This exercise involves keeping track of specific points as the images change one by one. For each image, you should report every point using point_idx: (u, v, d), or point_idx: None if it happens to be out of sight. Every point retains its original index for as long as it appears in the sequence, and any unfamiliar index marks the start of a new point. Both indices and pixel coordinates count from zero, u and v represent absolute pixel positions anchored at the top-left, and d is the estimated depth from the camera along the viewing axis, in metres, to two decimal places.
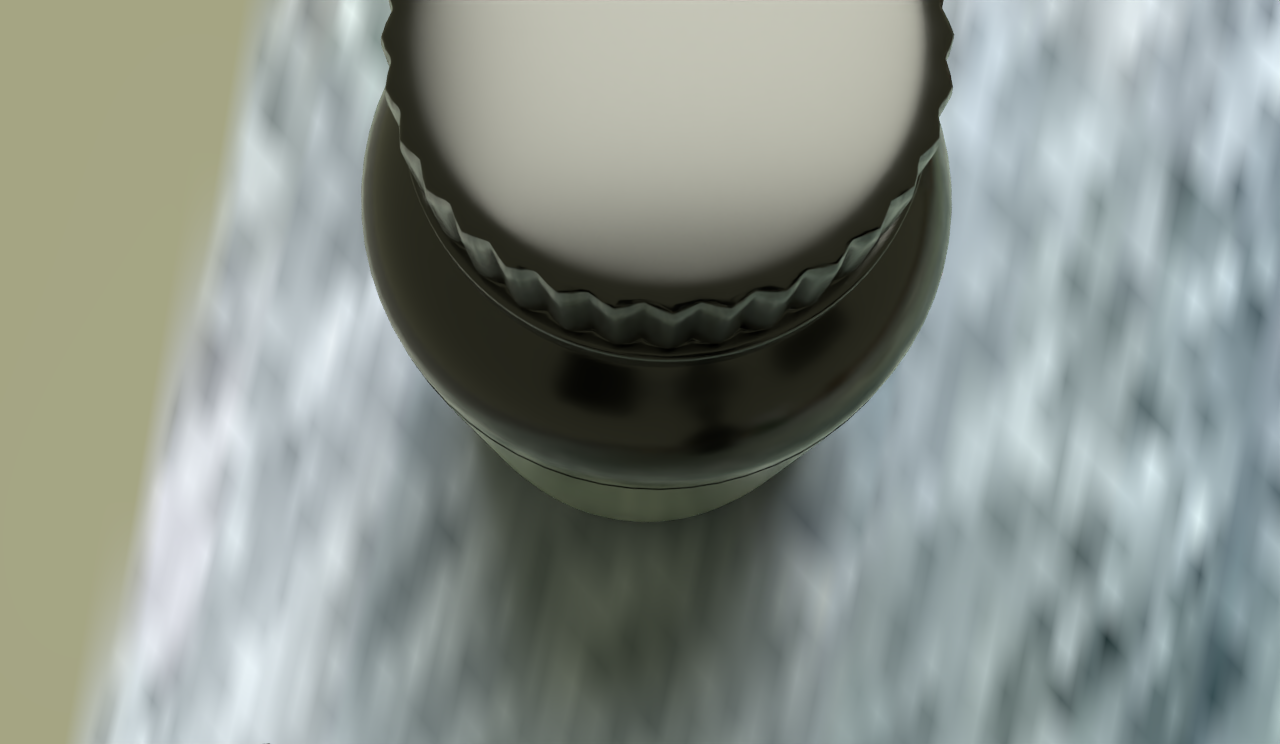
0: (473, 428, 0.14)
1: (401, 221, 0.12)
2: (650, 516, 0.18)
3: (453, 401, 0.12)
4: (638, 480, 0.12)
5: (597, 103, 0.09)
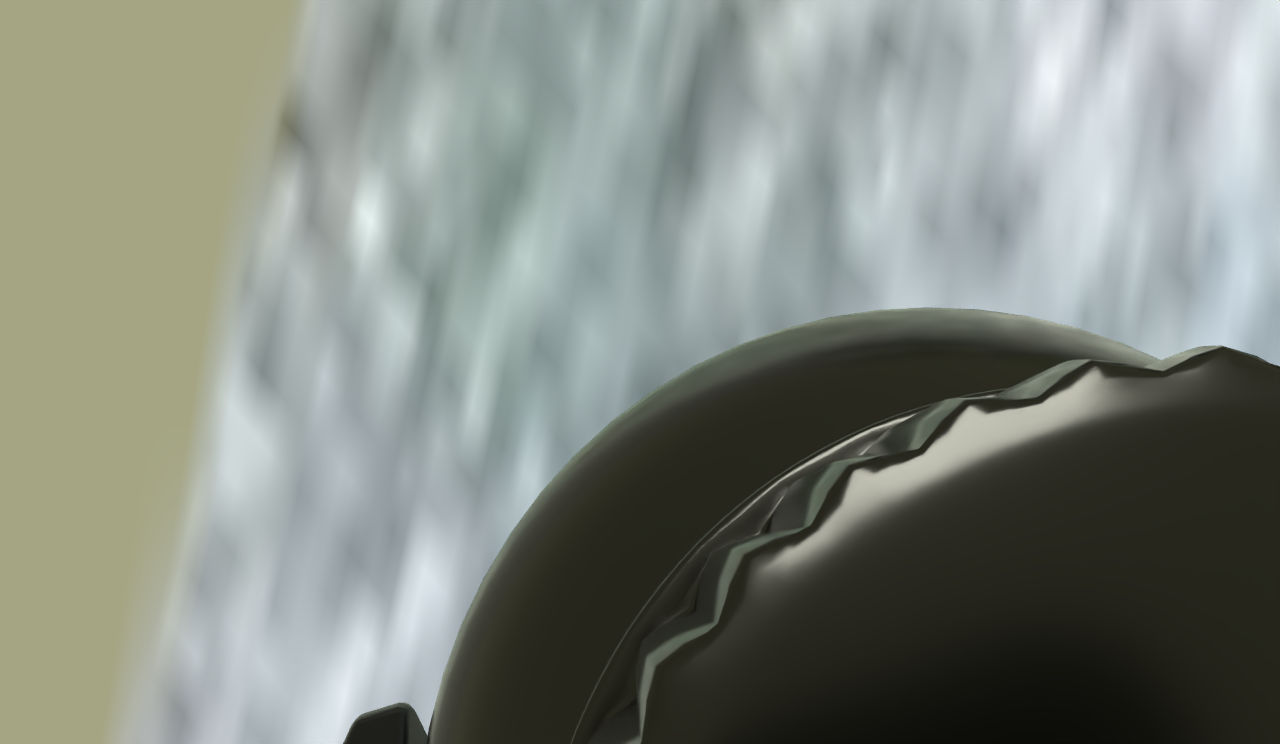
0: None
1: None
2: None
3: None
4: None
5: None
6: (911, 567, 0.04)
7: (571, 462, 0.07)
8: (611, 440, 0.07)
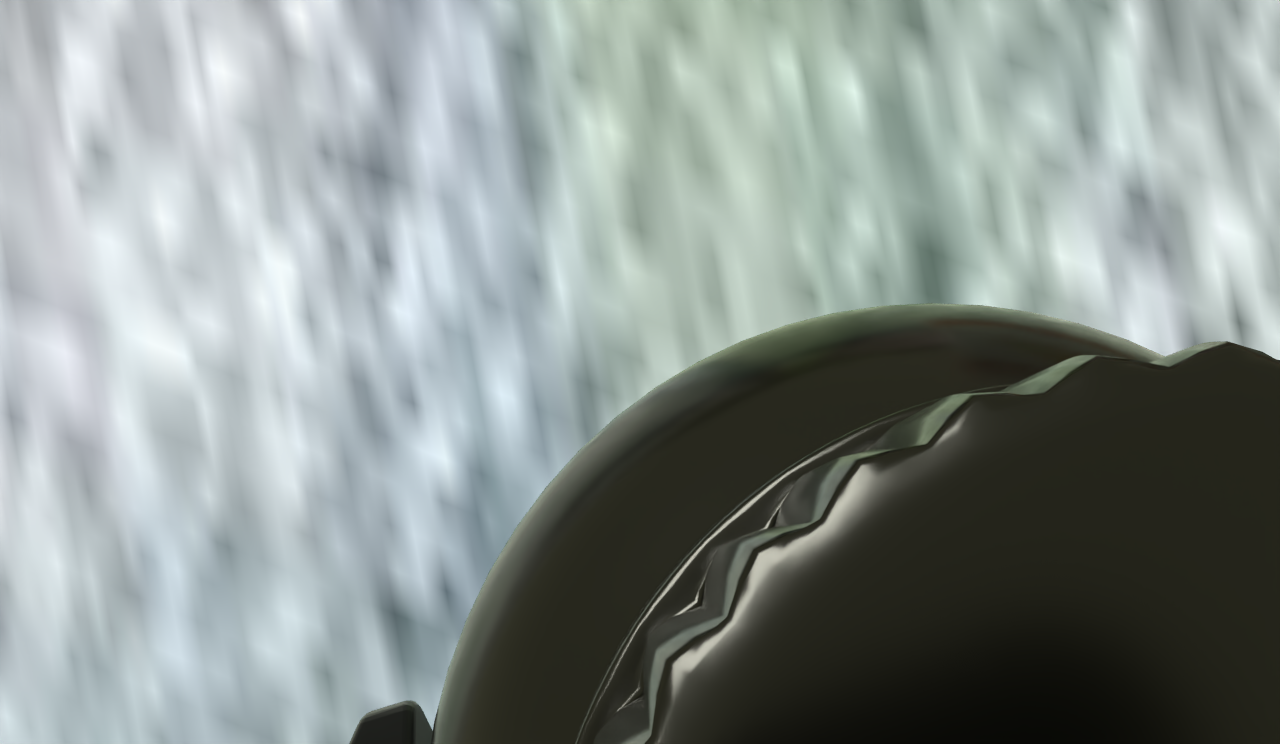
0: None
1: None
2: None
3: None
4: None
5: None
6: (918, 562, 0.04)
7: (577, 457, 0.07)
8: (616, 435, 0.07)
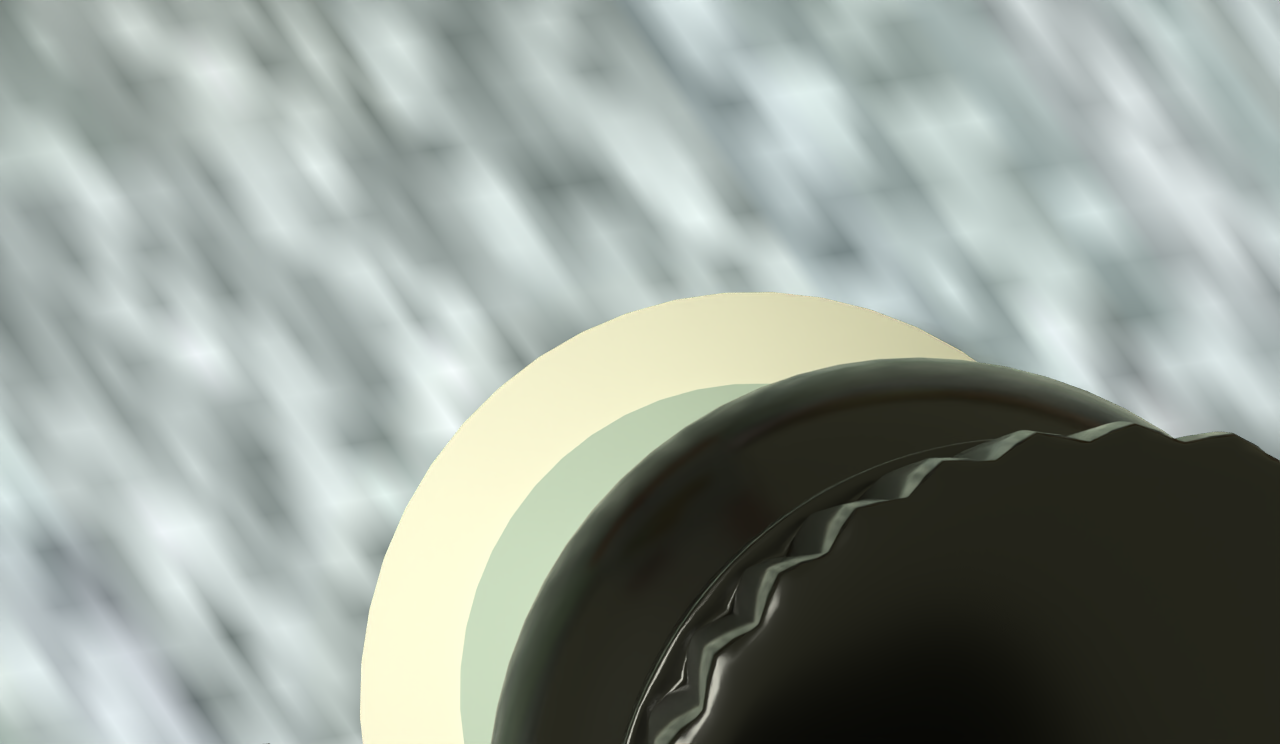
0: None
1: None
2: None
3: None
4: None
5: None
6: (898, 586, 0.05)
7: (619, 485, 0.09)
8: (653, 468, 0.08)
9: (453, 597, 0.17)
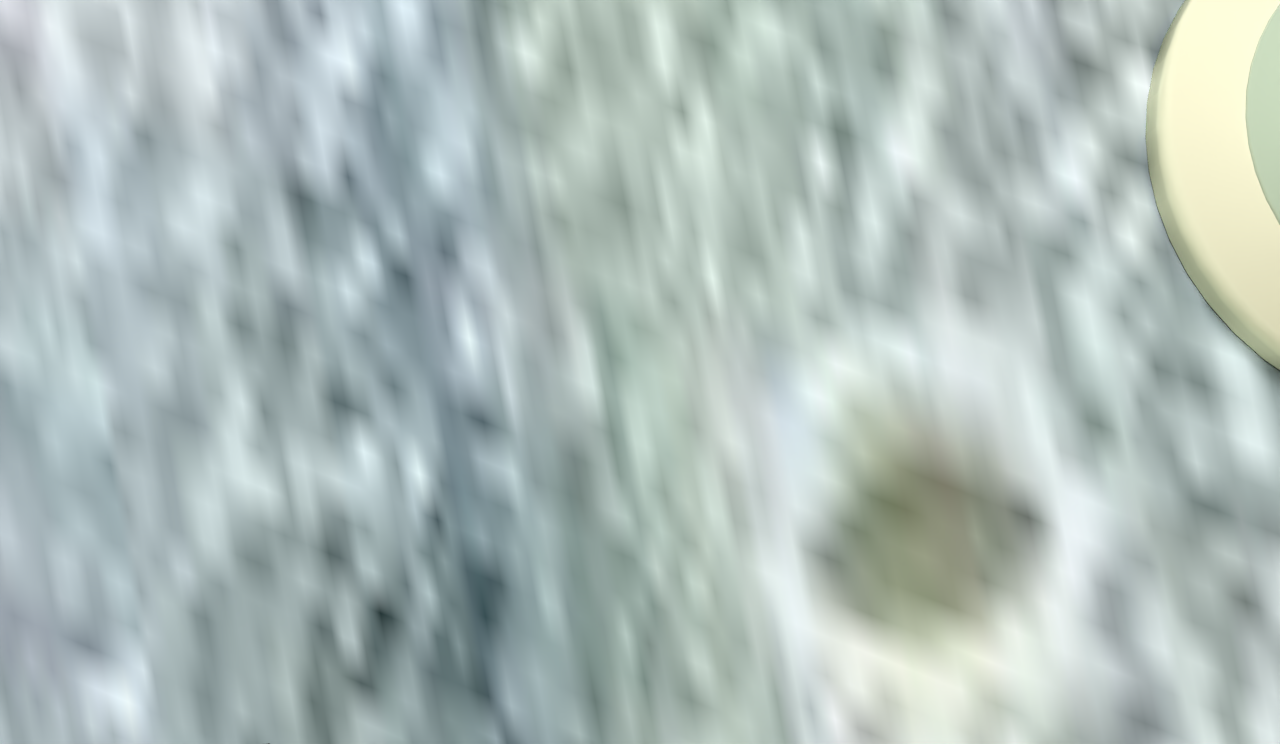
0: None
1: None
2: None
3: None
4: None
5: None
6: None
7: None
8: None
9: None
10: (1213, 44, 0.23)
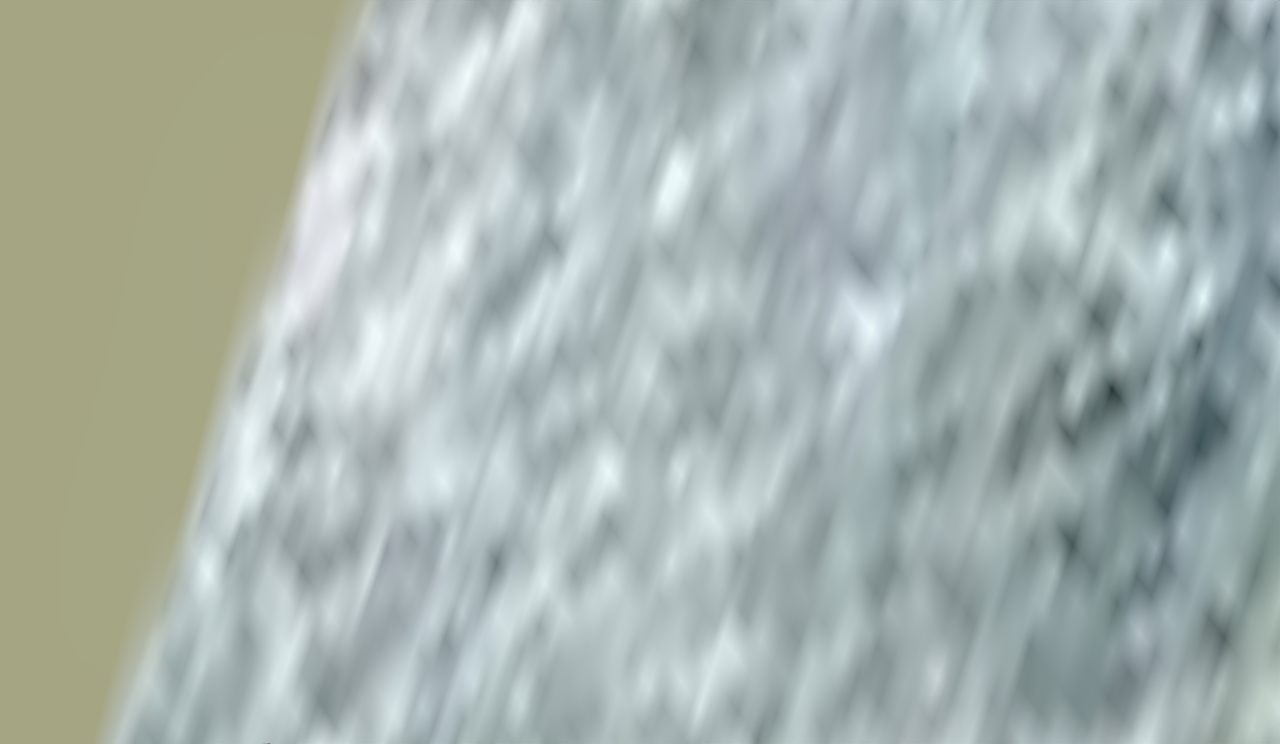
0: None
1: None
2: None
3: None
4: None
5: None
6: None
7: None
8: None
9: None
10: None
